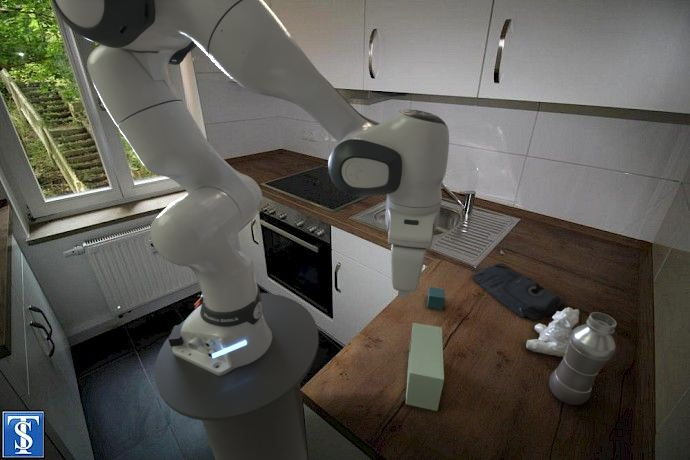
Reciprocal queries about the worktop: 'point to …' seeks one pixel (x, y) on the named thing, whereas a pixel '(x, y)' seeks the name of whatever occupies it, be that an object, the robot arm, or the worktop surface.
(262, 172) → the worktop surface
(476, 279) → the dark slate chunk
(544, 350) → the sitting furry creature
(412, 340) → the bin
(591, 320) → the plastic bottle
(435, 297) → the block
